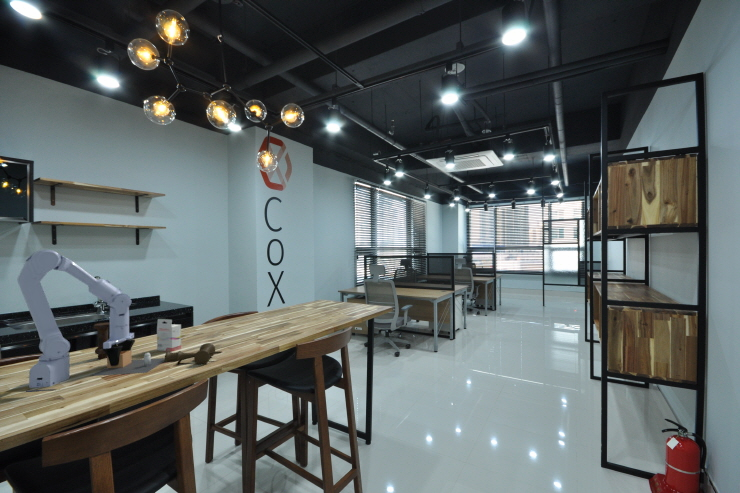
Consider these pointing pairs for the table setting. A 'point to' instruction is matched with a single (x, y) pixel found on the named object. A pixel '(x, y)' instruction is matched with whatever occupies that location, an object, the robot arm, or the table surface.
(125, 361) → the tan cube block
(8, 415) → the table surface
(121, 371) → the board
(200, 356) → the kendama
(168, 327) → the ink cartridge box
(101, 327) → the bolt
